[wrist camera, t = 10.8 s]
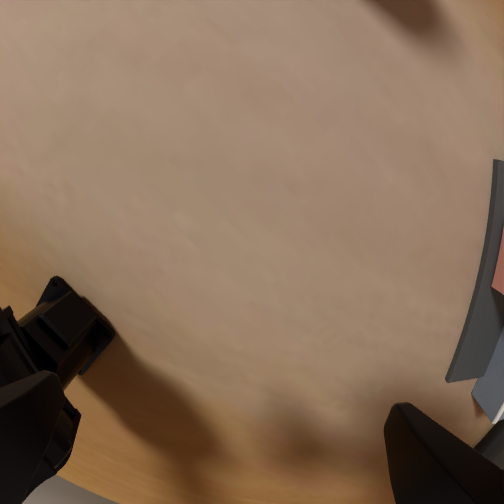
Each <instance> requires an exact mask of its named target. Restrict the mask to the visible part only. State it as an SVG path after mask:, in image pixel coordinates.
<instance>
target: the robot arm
mask: <svg viewBox="0 0 504 504" xmlns="http://www.w3.org/2000/svg"><path fill="white" fill-rule="evenodd" d="M55 281H56V282H57V284H56V283H55ZM106 332H107V333H109V335H110V336H109V335H107V333H106ZM114 337H115V332H114V331H113V329H112V328H111V327H109V326H108V325H107V324H106V323H105V322H104V321H103V320H102V319H101V318H100V317H99V316H98V315H97V314H96V313H95V312H94V311H93V310H91V309H90V308H89V307H88V306H87V305H86V304H85V303H84V302H83V301H82V300H81V299H80V298H79V297H78V296H77V295H76V294H75V293H74V292H73V291H72V289H71V288H70V287H69V286H68V285H67V284H66V283H65V282H64V281H63V280H62V279H61V278H60V277H59V276H54V277H52V278H51V279H50V281H49V283H48V285H47V286H46V288H45V290H44V292H43V294H42V296H41V298H40V300H39V301H38V303H37V305H36V307H35V308H34V309H33V310H32V311H30V312H29V313H28V314H26V315H25V316H24V317H22V318H21V319H20V320H18V321H16V319H15V317H14V315H13V311H12V309H11V307H10V305H9V306H8V307H6V308H4V309H1V307H0V504H22V502H23V501H24V500H25V499H26V498H27V497H28V495H29V494H30V493H31V492H32V491H33V490H34V489H35V488H36V487H37V486H39V485H40V484H41V483H43V482H44V481H45V480H47V479H49V478H50V477H52V476H54V475H56V473H57V472H58V471H59V470H60V469H61V468H62V467H63V466H64V465H65V464H66V462H67V461H68V459H69V457H70V455H71V452H72V448H73V444H74V440H75V437H76V433H77V429H78V426H79V422H80V419H81V414H80V412H79V411H78V410H77V409H75V408H74V407H73V405H72V404H71V403H70V402H69V400H68V399H67V398H66V396H65V394H64V390H65V389H66V388H67V386H68V385H69V384H70V382H71V381H72V380H73V379H74V377H75V376H76V375H77V374H79V375H83V374H84V373H85V372H86V370H87V369H88V368H89V367H90V365H91V364H92V363H93V362H94V361H95V359H96V358H97V357H98V356H99V355H100V354H101V352H102V351H103V350H104V349H105V348H106V346H107V345H108V344H109V343H110V342H111V341H112V339H113V338H114ZM384 438H385V445H386V452H387V459H388V467H389V475H390V481H391V485H392V490H393V494H394V498H395V502H396V504H504V470H503V469H500V467H499V466H497V465H496V464H494V463H493V462H491V461H490V460H489V459H487V458H486V457H484V456H483V455H481V454H480V453H479V452H477V451H476V450H474V449H473V448H471V447H470V446H469V445H467V444H466V443H464V442H463V441H462V440H460V439H459V438H457V437H456V436H455V435H453V434H452V433H450V432H449V431H448V430H446V429H445V428H443V427H442V426H441V425H439V424H438V423H437V422H435V421H434V420H432V419H431V418H430V417H428V416H427V415H426V414H424V413H423V412H421V411H420V410H419V409H417V408H416V407H415V406H413V405H412V404H410V403H408V402H404V403H396V404H394V405H393V406H392V408H391V411H390V413H389V415H388V418H387V420H386V423H385V425H384Z"/></svg>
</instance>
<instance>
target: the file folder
mask: <svg viewBox="0 0 504 504" xmlns="http://www.w3.org/2000/svg"><path fill="white" fill-rule="evenodd" d="M474 450H476V451H477V452H479V453H480V454H481V455H483V456H484V457H486V458H487V459H489V460H490V461H491V462H493V463H494V464H496V465H497V466H499V467H500V469H503V470H504V419H502V420H499V421H498V422H497V423H496V424H495V425H494V426H493V427H492V429H491V430H490V431H489V432H488V433H487V434H486V435H485V437H484V438H483V439H482V440H481V441H480V442H479V443H478V444H477V445H476V447H475V448H474Z"/></svg>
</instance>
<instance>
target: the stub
mask: <svg viewBox="0 0 504 504" xmlns="http://www.w3.org/2000/svg"><path fill="white" fill-rule="evenodd" d="M491 287H493V288H494V289H496V290H497V291H499V292H500V293H502V294H503V295H504V227H503V233H502V239H501V245H500V250H499V255H498V260H497V265H496V269H495V274H494V278H493V282H492V286H491Z"/></svg>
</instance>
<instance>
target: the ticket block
mask: <svg viewBox="0 0 504 504" xmlns="http://www.w3.org/2000/svg"><path fill="white" fill-rule="evenodd" d="M503 227H504V161H501V160H495V159H494V161H493V178H492V190H491V200H490V209H489V217H488V224H487V230H486V237H485V242H484V248H483V253H482V258H481V263H480V268H479V272H478V277H477V281H476V285H475V289H474V293H473V297H472V301H471V304H470V308H469V312H468V315H467V318H466V322H465V325H464V328H463V331H462V334H461V337H460V340H459V343H458V346H457V349H456V352H455V354H454V357H453V360H452V363H451V365H450V368H449V370H448V373H447V375H446V378H445V379H446V381H447V382H448V383H450V382H456V381H462V380H468V379H473V378H478V377H479V378H478V380H477V383H476V385H475V387H474V389H473V391H472V393H471V394H472V395H473V397H474V398H475V400H476V401H477V402H478V404H479V405H480V407H481V408H482V409H483V411H484V412H485V414H486V415H487V417H488V418H489V419H490V421H491V422H492V424H495V423H497V422H498V421H499V420H502V419H504V295H503V294H502V293H500V292H499V291H497V290H496V289H494V288H493V287H491V286H492V282H493V278H494V274H495V269H496V265H497V260H498V255H499V250H500V245H501V239H502V233H503Z"/></svg>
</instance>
